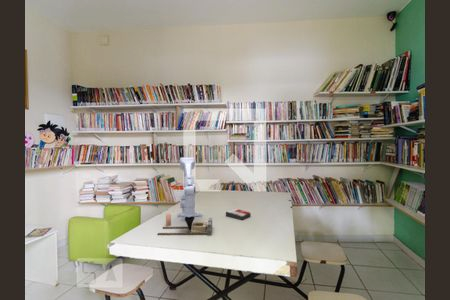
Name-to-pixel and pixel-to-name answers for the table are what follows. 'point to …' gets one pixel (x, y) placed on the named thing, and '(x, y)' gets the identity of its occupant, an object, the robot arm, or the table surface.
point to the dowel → (168, 220)
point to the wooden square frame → (199, 227)
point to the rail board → (209, 230)
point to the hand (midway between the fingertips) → (189, 229)
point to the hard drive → (238, 214)
